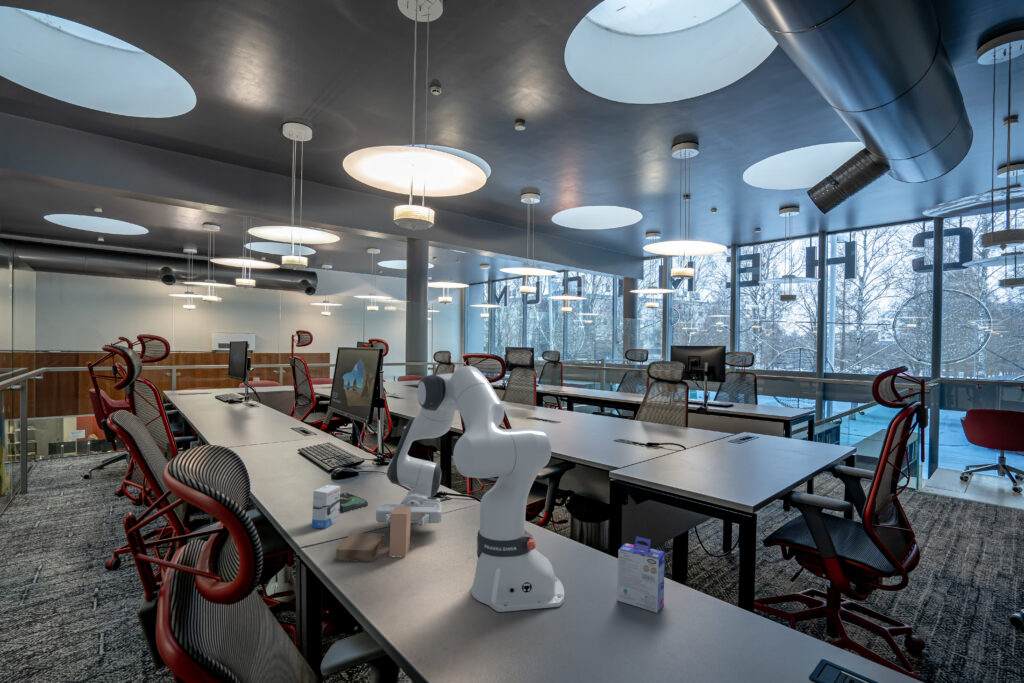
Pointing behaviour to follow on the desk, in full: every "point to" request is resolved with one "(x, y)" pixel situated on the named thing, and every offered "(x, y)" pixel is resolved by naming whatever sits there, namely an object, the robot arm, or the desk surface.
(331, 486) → the ink box
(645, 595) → the ink cartridge box
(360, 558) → the plinth
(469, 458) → the robot arm
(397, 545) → the terracotta block
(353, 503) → the disk drive
